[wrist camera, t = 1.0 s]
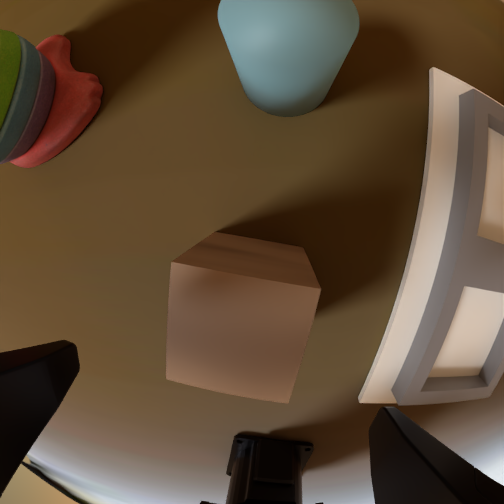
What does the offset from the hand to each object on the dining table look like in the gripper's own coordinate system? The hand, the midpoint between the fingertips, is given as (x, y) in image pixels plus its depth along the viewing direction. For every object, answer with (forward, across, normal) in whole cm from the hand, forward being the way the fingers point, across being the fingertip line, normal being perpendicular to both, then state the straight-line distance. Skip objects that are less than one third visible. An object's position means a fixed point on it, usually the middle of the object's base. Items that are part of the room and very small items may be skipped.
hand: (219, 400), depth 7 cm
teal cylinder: (+10, 0, -12) cm, 16 cm away
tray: (+10, -16, -4) cm, 19 cm away
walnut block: (+10, 0, 0) cm, 10 cm away
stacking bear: (+10, +18, -10) cm, 23 cm away
